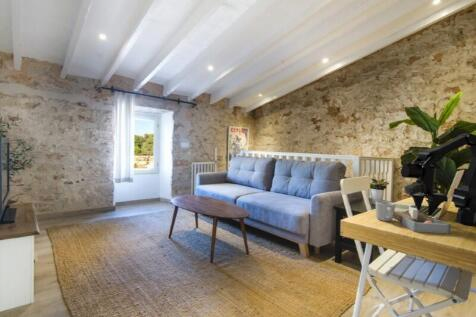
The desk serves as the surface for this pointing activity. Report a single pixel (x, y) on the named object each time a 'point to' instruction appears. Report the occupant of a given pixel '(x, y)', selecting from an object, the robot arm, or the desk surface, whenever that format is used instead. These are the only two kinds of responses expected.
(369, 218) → the desk surface
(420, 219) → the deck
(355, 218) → the desk surface
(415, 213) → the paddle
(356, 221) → the desk surface
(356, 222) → the desk surface
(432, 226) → the bin
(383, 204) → the cup
